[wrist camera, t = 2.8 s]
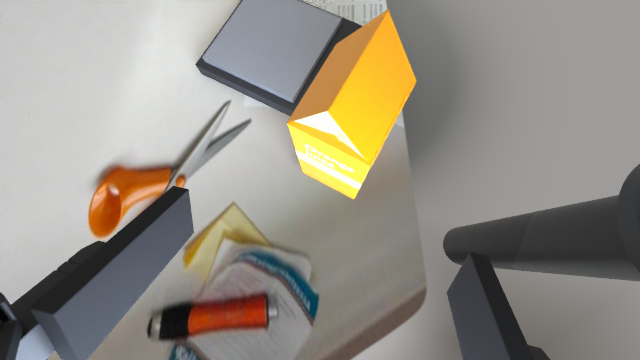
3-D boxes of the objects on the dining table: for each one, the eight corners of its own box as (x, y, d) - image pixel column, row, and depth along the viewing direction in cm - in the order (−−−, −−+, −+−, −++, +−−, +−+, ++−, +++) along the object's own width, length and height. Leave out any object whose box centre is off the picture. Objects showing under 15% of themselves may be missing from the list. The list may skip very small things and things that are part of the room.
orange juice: (385, 143, 38) (444, 29, 19) (354, 200, 36) (384, 141, 17) (333, 117, 39) (338, -15, 20) (301, 172, 37) (271, 85, 18)
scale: (362, 36, 42) (364, 20, 39) (310, 125, 39) (309, 115, 36) (257, -7, 45) (252, -25, 42) (201, 73, 41) (191, 59, 39)
